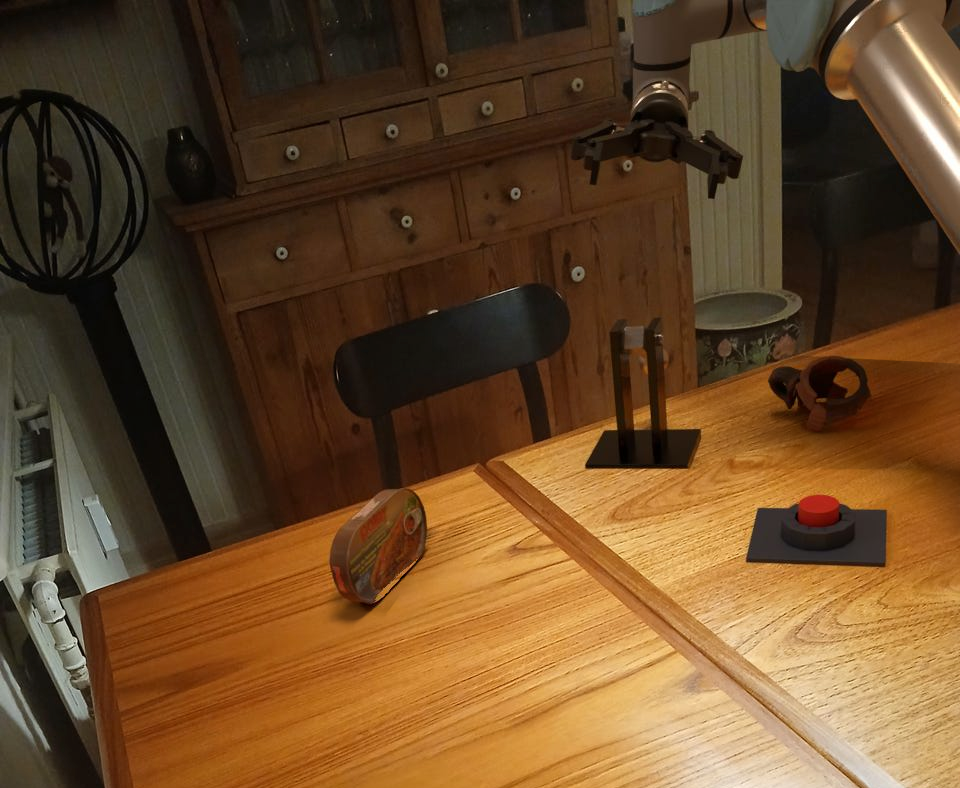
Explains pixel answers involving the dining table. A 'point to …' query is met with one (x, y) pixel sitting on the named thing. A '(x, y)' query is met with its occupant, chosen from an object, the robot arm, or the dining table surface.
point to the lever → (639, 346)
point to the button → (818, 511)
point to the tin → (378, 544)
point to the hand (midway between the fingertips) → (653, 179)
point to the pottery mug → (821, 389)
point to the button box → (819, 538)
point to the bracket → (659, 442)
